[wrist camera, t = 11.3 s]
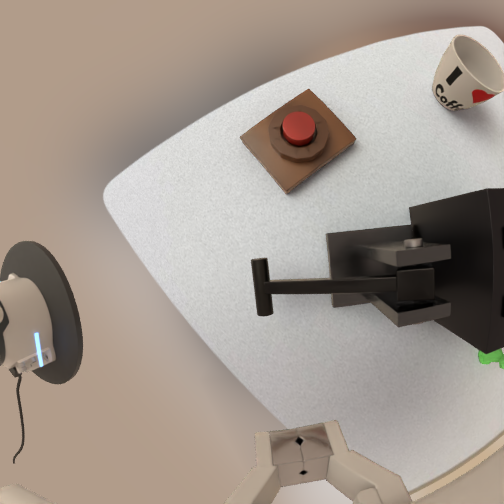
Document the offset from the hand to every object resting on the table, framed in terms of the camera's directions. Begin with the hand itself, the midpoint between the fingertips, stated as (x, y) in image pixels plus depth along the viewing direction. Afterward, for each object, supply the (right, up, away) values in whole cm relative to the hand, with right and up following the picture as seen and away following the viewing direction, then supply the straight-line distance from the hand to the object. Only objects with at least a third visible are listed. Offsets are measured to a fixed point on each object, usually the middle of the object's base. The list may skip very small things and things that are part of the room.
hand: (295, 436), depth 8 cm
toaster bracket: (+12, +5, +21) cm, 24 cm away
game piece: (+33, -7, +18) cm, 38 cm away
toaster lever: (+6, +4, +13) cm, 15 cm away
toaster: (+22, +7, +19) cm, 30 cm away
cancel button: (+3, +19, +18) cm, 26 cm away
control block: (+4, +19, +21) cm, 29 cm away
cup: (+25, +28, +17) cm, 42 cm away
